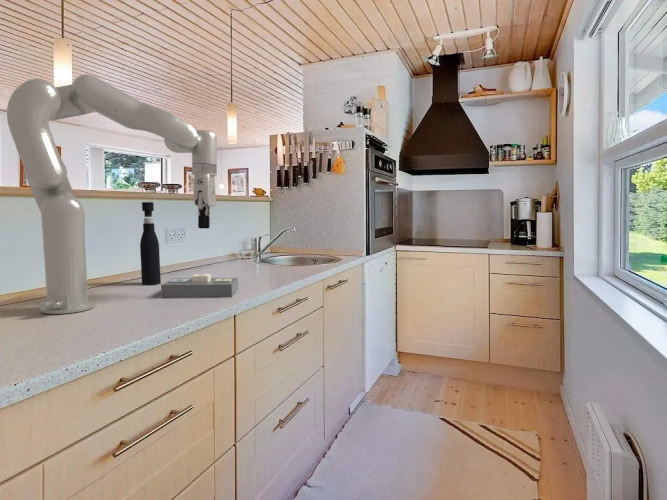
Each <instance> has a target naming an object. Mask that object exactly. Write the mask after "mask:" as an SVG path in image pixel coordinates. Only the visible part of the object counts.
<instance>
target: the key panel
mask: <svg viewBox="0 0 667 500" xmlns="http://www.w3.org/2000/svg"><path fill="white" fill-rule="evenodd" d="M230 278H232V282H222V283H214V281H215V280H216V279H230ZM173 279H190V281H189V282H187V283H170V281H172V280H173ZM160 286H161V288H160V289H161V298H170V299H171V298H232V297H233V296H234V295H235V294H236V293H237V291H238V290H239V277H211V281H210V282H209V283H192V277H178V278H177V277H176V278H175V277H174V278H172V279H170V280H168V281H166V282H164V283H162V284H161V285H160Z"/></svg>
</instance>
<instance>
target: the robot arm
mask: <svg viewBox="0 0 667 500" xmlns="http://www.w3.org/2000/svg"><path fill="white" fill-rule="evenodd" d="M92 113H98V114H99V115H101V116H103V117H105V118H107V119H109V120H111V121H113V122H115V123H116V124H118V125H121V126H123V127H124V128H127V129H131V130H136V131H144V132H148V133H151V134H154V135H157V136H158V137H161V138H163V140H164V141H163V142H164V145H165V146H166V149H168V150H169V151H171V152H173V153H176V154H187V153H188V154H191V175H192V176H194V178H193V179H194V181H193V205H195V206H197V210H198V213H197V216H198V217H197V226H198V227H197V228H198V229H206V230H207V229H210V226H211V225H210V224H211V223H210V221H211V220H210V219H211V218H210V217H211V216H210V215H211V214H210V212H211V207H215V206H216V204H217V203H216V202H217V200H216V197H217V196H216V195H217V194H216V193H217V192H216V182H215V181H216V180H215V177H217V168H218V167H217V162H218V159H217V158H218V157H217V156H218V149H217V148H218V136H217V134H216V133H215V132H214V131H211V130H205V129H196V128H195V127H194V126H193V125H191V124H190V123H189V122H187V121H185V120H183V119H182V118H180V117H178V116H177V115H175V114H173V113H171V112H169V111H167V110H165V109H162V108H160V107H157V106H154V105H151V104H150V103H147V102H143V101H141V100H139V99H137V98H135V97H133V96H131V95H129V94H128V93H126V92H124V91H123V90H120V89H119V88H117V87H115V86H113V85H111V84H110V83H108V82H107V81H104V80H102V79H100V78H98V77H96V76H95V75H91V74H87V73H85V74H81V75H79V76H77V77H76V78H75V79H74V80H73V82H72V83H71V84H67V85H62V86H55V85H54V84H53V83H51V82H50V81H49V80H46V79H42V78H33V79H32V78H31V79H28V80H26V81H24V82H22V83H21V84H20V85H19V86H18V87H16V89H15V90H14V91H13V92H12V94H11V95H10V97H9V100H8V102H7V107H6V120H7V125H8V129H9V131H10V135H11V137H12V140H13V143H14V145H15V148H16V151H17V153H18V155H19V158H20V160H21V163H22V166H23V170H24V171H23V172H24V176H25V178H26V179H25V180H26V181H27V183H28V186H29V188H30V191H31V193H32V195H33V197H34V200H35V202H36V205H37V207H38V209H39V211H40V216H41V227H42V245H43V257H44V271H45V272H44V273H45V274H44V275H45V287H46V288H45V290H46V296H45V298H46V299H45V301H43V302H40V303H38V304H37V305H38V306H37V307H38V309H39V310H40V312H41V313H43V314H46V315H63V314H64V315H65V314H72V313H80V312H84V311H87V310H91V309H93V308H94V307H95V306H96V305H95V302H94V301H93V300H89V294H88V293H89V292H88V291H89V289H88V274H87V273H88V271H87V256H86V253H87V252H86V241H85V240H86V238H85V237H86V235H85V233H86V231H85V226H86V225H85V223H86V222H85V221H86V220H85V218H86V217H85V216H86V215H85V209H84V206H83V204H82V202H81V201H80V200H79V199H78V198H77V197H76V195H75V192H74V190H73V188H72V185H71V183H70V181H69V178H68V169H67V166H66V164H65V163H64V161H63V159H62V157H61V154H60V153H59V150H58V148H57V145H56V143H55V139H54V137H53V134H52V131H51V127H50V123H49V122H50V121H53V122H54V121H58V120H63V119H67V118H73V117H78V116H79V117H80V116H83V115H84V116H85V115H88V114H92Z"/></svg>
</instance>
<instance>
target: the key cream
mask: <svg viewBox="0 0 667 500" xmlns="http://www.w3.org/2000/svg"><path fill="white" fill-rule="evenodd" d="M191 278H192V283H209V282H210V281H211V278H212V274H211V273H195V274H194V275H191Z"/></svg>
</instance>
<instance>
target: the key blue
mask: <svg viewBox="0 0 667 500" xmlns="http://www.w3.org/2000/svg"><path fill="white" fill-rule="evenodd" d="M172 279H173V280H172ZM172 279H171V280H172V281H170V280H169V281H170V283H187V282H189V281H190V279H174V278H172Z"/></svg>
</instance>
